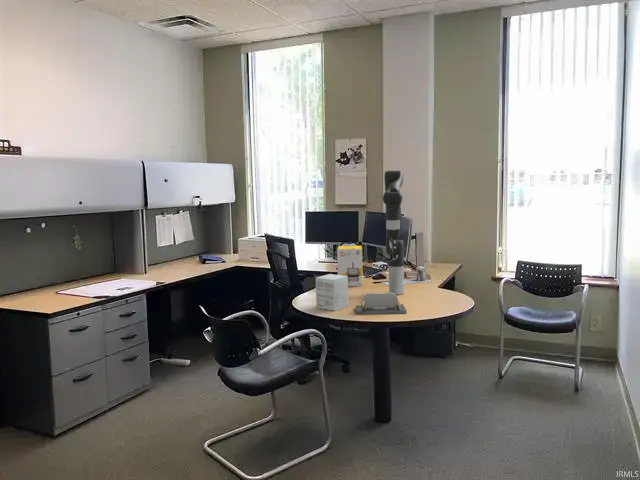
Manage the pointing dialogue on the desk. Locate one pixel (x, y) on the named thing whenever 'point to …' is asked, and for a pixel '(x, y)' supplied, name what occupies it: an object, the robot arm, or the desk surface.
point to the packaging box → (350, 264)
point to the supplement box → (332, 292)
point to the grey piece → (380, 300)
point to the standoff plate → (380, 309)
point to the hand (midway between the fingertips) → (393, 257)
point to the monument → (420, 278)
